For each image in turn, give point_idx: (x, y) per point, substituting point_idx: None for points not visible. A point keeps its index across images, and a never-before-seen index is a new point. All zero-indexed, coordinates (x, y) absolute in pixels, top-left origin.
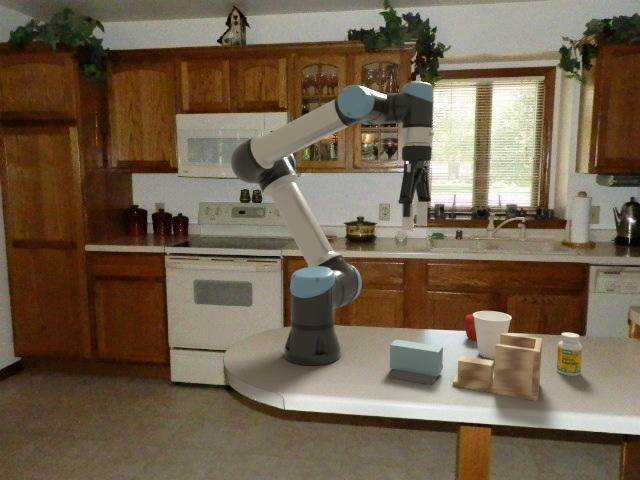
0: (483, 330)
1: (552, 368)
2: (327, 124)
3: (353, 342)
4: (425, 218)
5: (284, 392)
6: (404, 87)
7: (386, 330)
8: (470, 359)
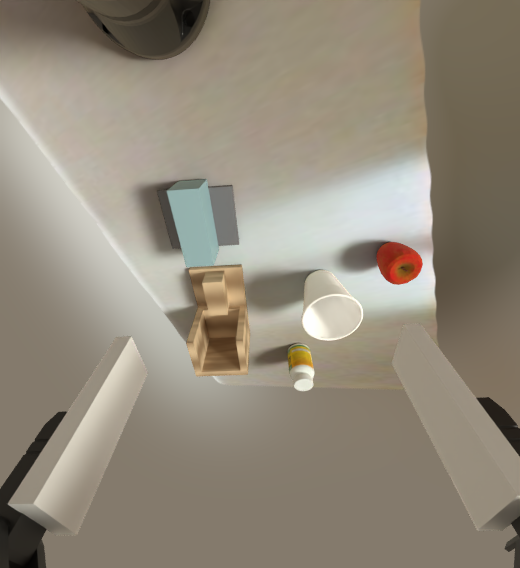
0: (305, 300)
1: (303, 339)
2: None
3: (280, 28)
4: (410, 396)
5: None
6: None
7: (400, 68)
8: (215, 293)
